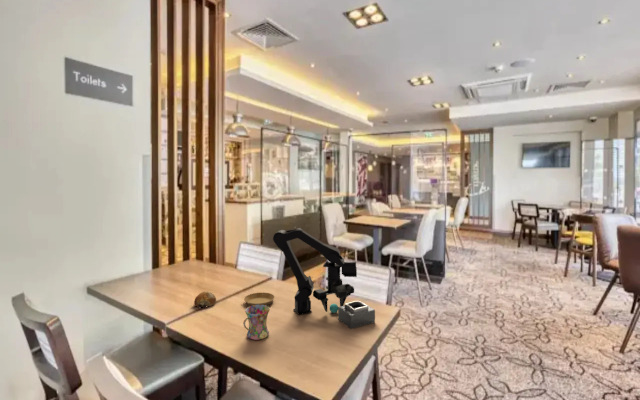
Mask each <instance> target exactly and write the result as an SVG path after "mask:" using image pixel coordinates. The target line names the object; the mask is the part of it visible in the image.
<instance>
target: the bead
mask: <svg viewBox="0 0 640 400" xmlns="http://www.w3.org/2000/svg"><path fill="white" fill-rule="evenodd" d="M338 307H339V306H338V305H337V303H331V304H330V305H329V311H330V313H333V314H335V313H337V312H338Z"/></svg>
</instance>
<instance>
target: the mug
mask: <svg viewBox="0 0 640 400" xmlns="http://www.w3.org/2000/svg"><path fill="white" fill-rule="evenodd" d="M244 312H245V315H246V318H245V319H244V320H243V323H242V324H243V327H244V328H245V330H247V333H246V338H248V339H250V340H256V341H257V340H258V341H259V340H262V339H265V338H267V337H268V336H269V335H270V331H269V329H268V325H267V320H268V315H269V312H270V307H269V305H253V306H250V305H249V306H248V307H247V308H245V310H244ZM247 320H248V321H247ZM246 322H248V327H247V326H246Z"/></svg>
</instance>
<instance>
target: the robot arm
mask: <svg viewBox="0 0 640 400" xmlns="http://www.w3.org/2000/svg"><path fill="white" fill-rule="evenodd" d="M295 239H299V240H300V241H302V242H303V243H305V244H307V245H308V246H310V247H312V248H313V249H314V250H316V251H317V252H319V253H320V254H321V255H322V256H323V258H325V259H326V261H325V262H324V263H323V265H322V266H323V267H324V268H327V277H325V280H326V281H327V285H326V286H325V288H326V290H323V289H322V288H319V289H314V286H315V285H314V281H313V279H312V276H311V275H306V274H305V272H304V270H303V268H302V266H301V265H300V262H299V260H298V258H297V256H296V254H295V252H294V250H293V248H292V245H291V241H292V240H295ZM272 240H273V243H274V244H275V246H276V247H277V248H278V249H279V250H280V251H281V252H282V253H283V255H284V257H285V259H286V261H287V264H288V265H289V268H290V269H291V272H292V273H293V275H294V277H295V280H296V284H297V289H298V290H297V291H296V293H295V296H294V308H293V311H294V312H295V313H296V314H297V315H299V316H300V315H305V314H310V313H312V301H311V298H310V296H312V297H314V298H315V299H317V300H318V301H320V302H321V305H322V306H323V308H324V311H325V312H326V313H327V312H328V301H329V298H328V296H329V295H333V294H334V295H335V296H336V298H337V299H338V300H339V307H340V306H344V305H345V302H346V300H347V298H348V297H349V296H351V295H352V294H354V293H355V287H354V286H353V285H351V284H350V283H344V284H343V279H342V278H341V275H342V276H344V278H357V276H358V275H357V274H358V272H357V270H358V269H357V261H355V260H354V261H345V259H344V258H343V256H342V255H341V251H340V249H339V248H338V247H335V246H333V245H332V244H331V245H330V244H327V243H324V242H323V241H321V240H319V239H317V238H316V237H315V236H312V235H311V234H310V233H309V232H307V231H305V230H304V229H302V228H301V227H299V228H298V227H297V228H295V229H288V230H284V229H279V230H278V231H276V232H275V233H274V234H273V237H272Z"/></svg>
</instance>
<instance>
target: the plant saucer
mask: <svg viewBox="0 0 640 400" xmlns="http://www.w3.org/2000/svg"><path fill="white" fill-rule="evenodd" d="M274 299H275V295H274V294H273V293H270V292H253V293H249V294H247V295H245V296H244V297H243V300H244V302H245V303H246V304H248V306H249V307H250V306H253V305H266V306H269V305H270V304H271V303H272V302H273V301H274Z"/></svg>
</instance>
